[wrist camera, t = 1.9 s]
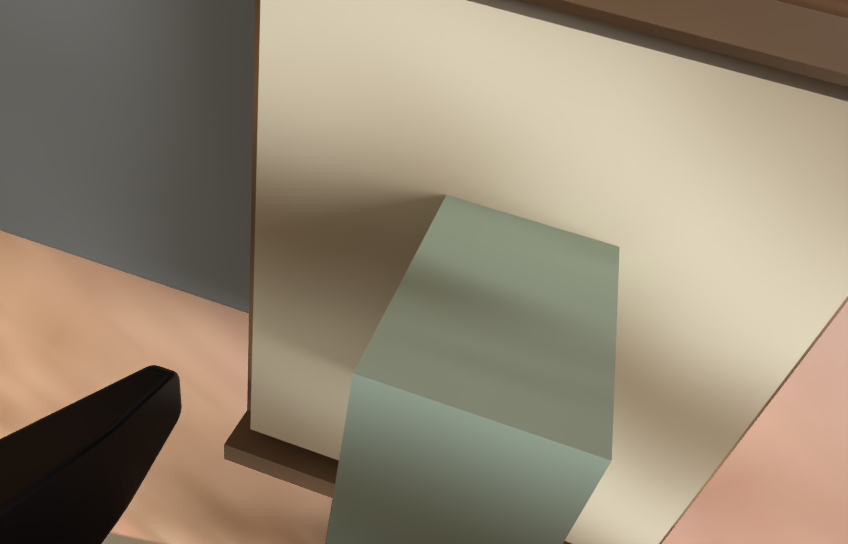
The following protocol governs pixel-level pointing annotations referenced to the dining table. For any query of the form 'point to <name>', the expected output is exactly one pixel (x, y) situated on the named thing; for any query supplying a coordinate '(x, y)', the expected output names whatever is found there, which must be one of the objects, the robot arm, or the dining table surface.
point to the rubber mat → (132, 136)
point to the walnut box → (636, 10)
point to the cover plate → (556, 157)
